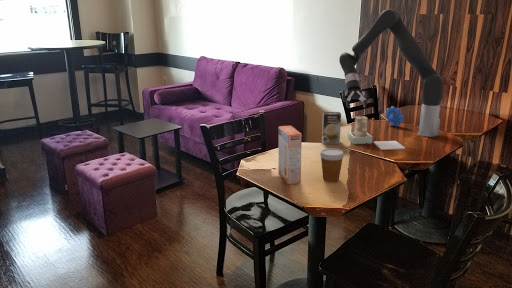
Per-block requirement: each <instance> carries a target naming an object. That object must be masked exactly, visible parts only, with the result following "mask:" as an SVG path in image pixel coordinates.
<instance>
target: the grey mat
mask: <svg viewBox="0 0 512 288" xmlns="http://www.w3.org/2000/svg"><path fill="white" fill-rule="evenodd" d="M372 144H374V145H375V146H376V147H377V148H378V149H379V150H381V151H382V150H383V151H385V150H405V149H406V147H405V146H403V144H401V143H399V142H398V141H397V140H384V141H383V140H382V141H379V140H378V141H372Z"/></svg>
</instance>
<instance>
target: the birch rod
mask: <svg viewBox="0 0 512 288" xmlns="http://www.w3.org/2000/svg"><path fill="white" fill-rule="evenodd" d="M367 131H368V117H367V116H365V115H358V116H357V115H356V116H355V117H354V131H353V132H354V137H366V133H368V132H367Z"/></svg>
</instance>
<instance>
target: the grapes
mask: <svg viewBox="0 0 512 288" xmlns="http://www.w3.org/2000/svg"><path fill="white" fill-rule="evenodd" d="M384 116H385V117H386V122H388V123H390V125H391V126H393V127H395V126H396V127H400V126H401V124H403V123H404V113H402V112H401V109H400V108H399V107H397V108H396V107H395V106H393V105H391V107H387V108H386V112H385V113H384Z"/></svg>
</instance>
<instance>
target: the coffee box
mask: <svg viewBox="0 0 512 288" xmlns="http://www.w3.org/2000/svg"><path fill="white" fill-rule="evenodd" d="M341 123H342V113H341V112H340V111H322V123H321V124H322V125H321V126H322V127H321V129H322V130H321V144H323V145H340V143H341V142H340V139H341V127H342V124H341Z"/></svg>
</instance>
